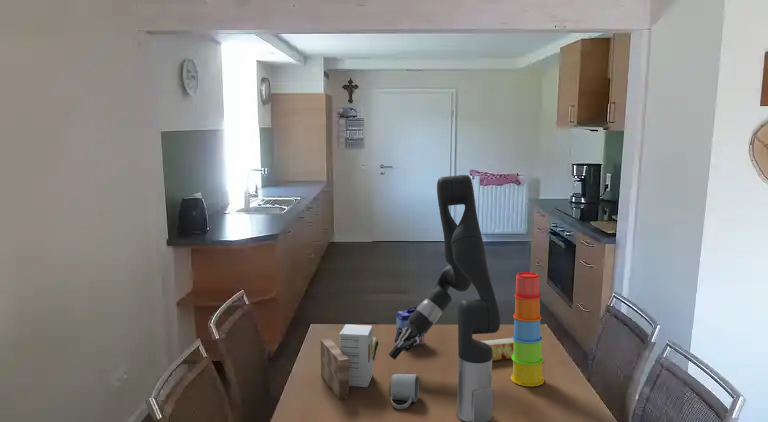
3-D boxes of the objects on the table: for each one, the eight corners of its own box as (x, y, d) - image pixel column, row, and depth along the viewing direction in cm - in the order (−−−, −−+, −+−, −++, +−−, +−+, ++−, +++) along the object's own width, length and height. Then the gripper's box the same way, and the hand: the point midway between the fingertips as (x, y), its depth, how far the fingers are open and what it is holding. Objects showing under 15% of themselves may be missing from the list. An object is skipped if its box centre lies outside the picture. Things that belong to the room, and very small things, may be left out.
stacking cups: (514, 387, 174) (519, 278, 169) (507, 373, 184) (511, 270, 179) (547, 387, 174) (553, 279, 169) (539, 373, 184) (544, 270, 179)
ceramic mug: (392, 391, 171) (392, 367, 170) (419, 394, 169) (419, 370, 168) (385, 409, 161) (385, 383, 159) (413, 412, 159) (413, 386, 158)
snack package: (524, 351, 203) (525, 333, 202) (534, 358, 197) (535, 339, 196) (470, 357, 197) (471, 339, 196) (479, 365, 191) (480, 346, 190)
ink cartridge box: (401, 347, 205) (402, 309, 203) (395, 342, 210) (395, 305, 208) (425, 343, 209) (426, 306, 207) (418, 338, 214) (418, 302, 212)
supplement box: (367, 387, 173) (368, 335, 171) (338, 385, 175) (338, 333, 172) (373, 374, 183) (373, 324, 180) (345, 372, 184) (345, 323, 182)
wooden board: (349, 397, 167) (348, 358, 165) (339, 399, 166) (339, 360, 164) (329, 373, 183) (329, 338, 182) (320, 374, 182) (320, 339, 180)
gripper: (409, 303, 189) (375, 343, 186) (428, 315, 177) (392, 358, 174) (422, 316, 192) (390, 356, 189) (442, 328, 180) (407, 371, 177)
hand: (391, 357), depth 182 cm, fingers closed
